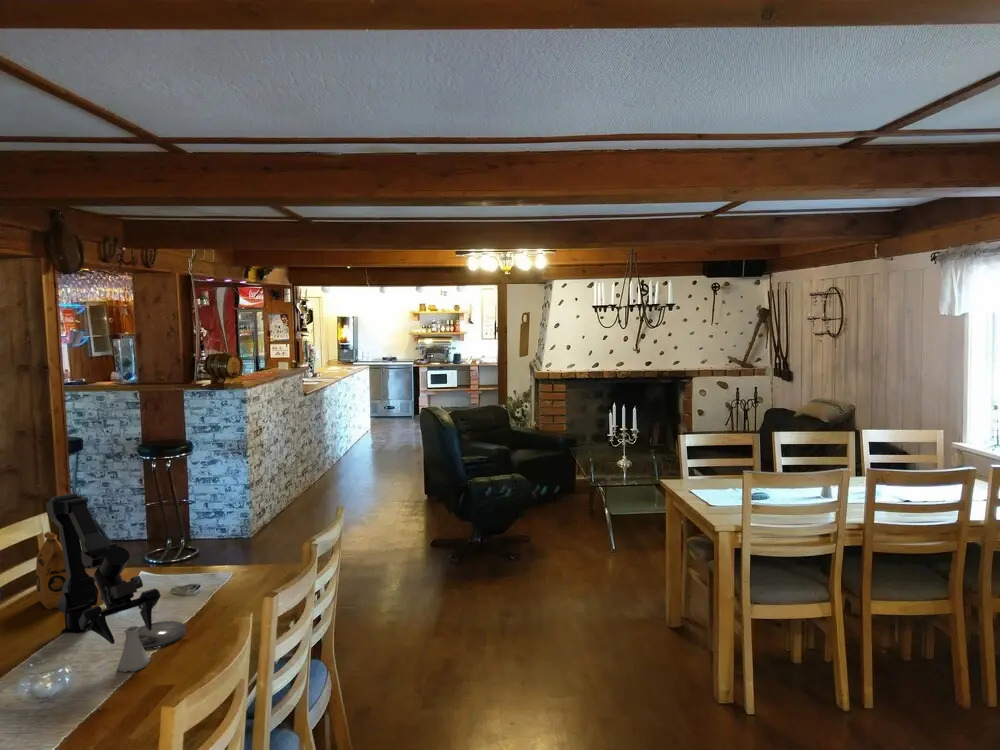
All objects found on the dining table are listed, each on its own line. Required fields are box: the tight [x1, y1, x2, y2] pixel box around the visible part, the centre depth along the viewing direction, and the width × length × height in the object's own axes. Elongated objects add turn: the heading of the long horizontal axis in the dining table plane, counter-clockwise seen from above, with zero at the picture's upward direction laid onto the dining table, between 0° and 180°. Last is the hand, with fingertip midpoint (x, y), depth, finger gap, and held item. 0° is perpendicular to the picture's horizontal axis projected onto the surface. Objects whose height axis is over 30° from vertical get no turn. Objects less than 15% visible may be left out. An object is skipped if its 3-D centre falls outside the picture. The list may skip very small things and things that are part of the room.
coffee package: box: [35, 531, 67, 610], centre depth 218 cm, size 10×12×22 cm
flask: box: [116, 625, 151, 673], centre depth 177 cm, size 7×7×10 cm
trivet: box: [138, 620, 187, 650], centre depth 194 cm, size 15×15×1 cm
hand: (132, 636), depth 177 cm, fingers open, 9 cm apart
